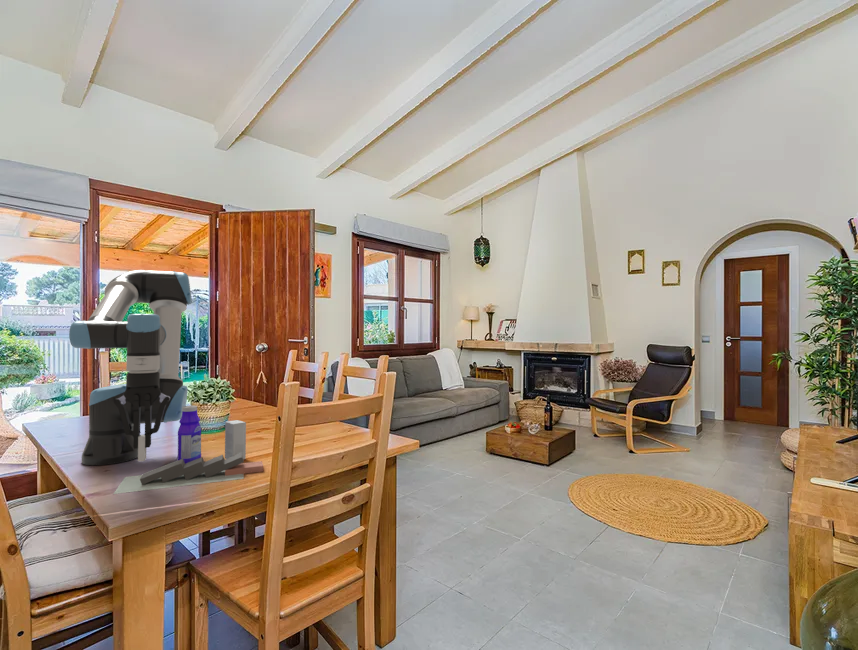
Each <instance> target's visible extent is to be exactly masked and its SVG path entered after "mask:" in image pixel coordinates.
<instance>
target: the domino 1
mask: <svg viewBox="0 0 858 650" xmlns="http://www.w3.org/2000/svg"><path fill="white" fill-rule="evenodd" d="M184 465H185V462H184V460H183V459H180V460H178V459H177V460H175V461H173V462H171V463H167V464H165V465H163V466H160V467H156V468H154V469H152V470H149V471H147V472H144V473H142V476H141V478H140V481H141V484H142V485H143V484H145V483H148V482H151V481H153V480H156V479H158V478H161V477H163V476H166V475H168V474H171V473H173V472H176V471H179V470H181V469H183V468H184Z"/></svg>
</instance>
